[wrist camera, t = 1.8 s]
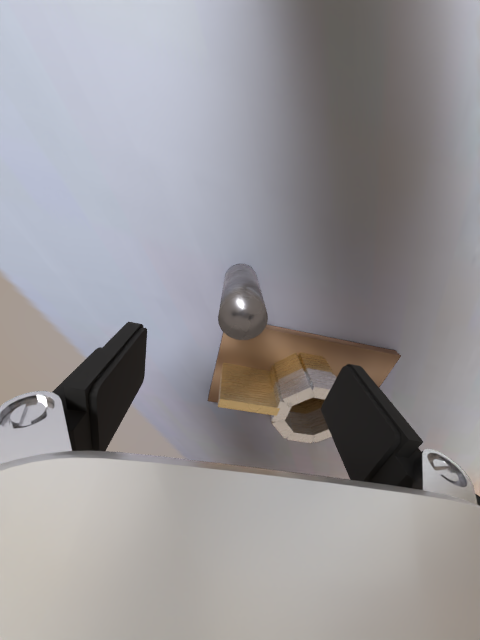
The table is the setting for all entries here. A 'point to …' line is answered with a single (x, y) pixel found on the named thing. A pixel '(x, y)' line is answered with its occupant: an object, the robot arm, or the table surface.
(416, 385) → the table surface
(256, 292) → the hinge pin
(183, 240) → the table surface
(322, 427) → the hinge
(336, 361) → the mounting board
